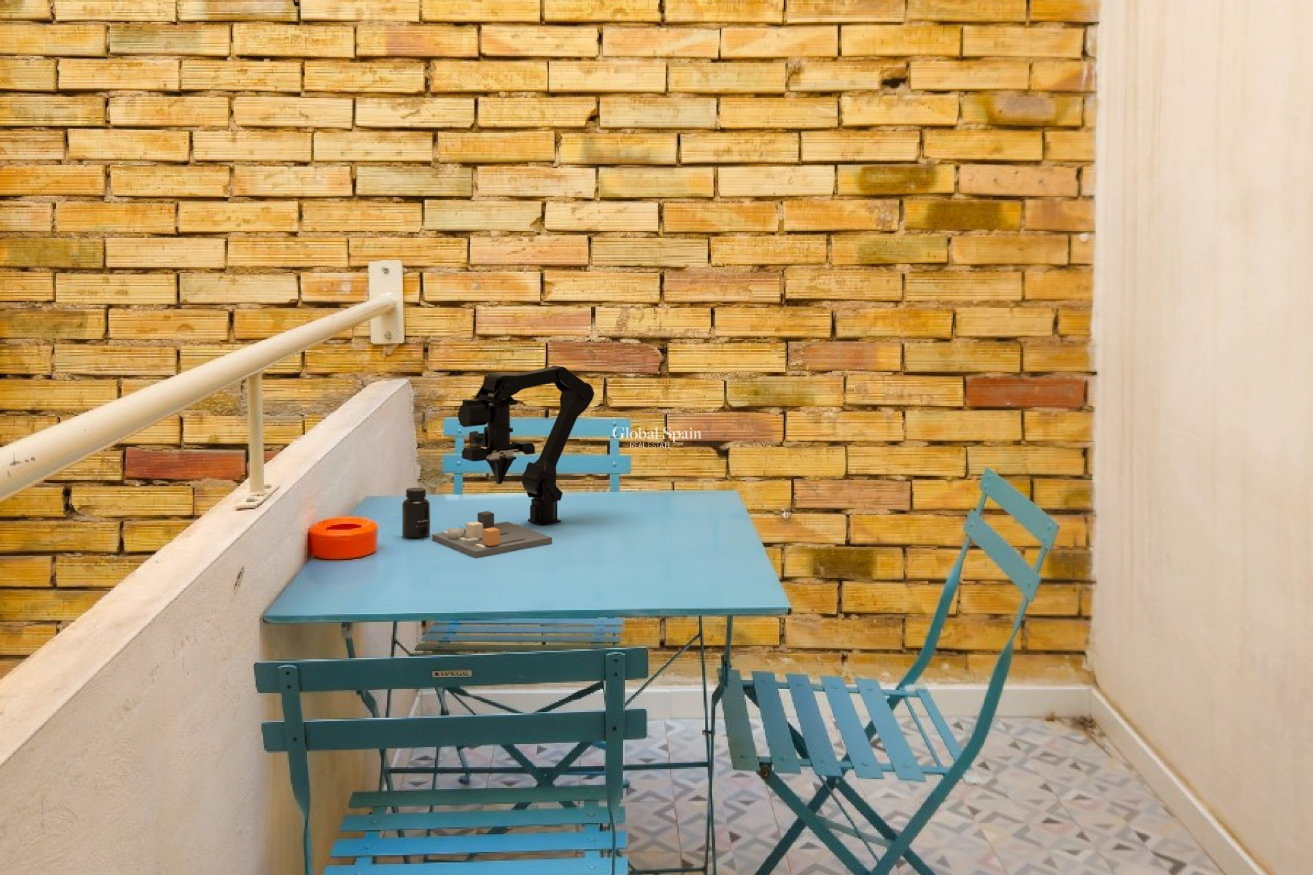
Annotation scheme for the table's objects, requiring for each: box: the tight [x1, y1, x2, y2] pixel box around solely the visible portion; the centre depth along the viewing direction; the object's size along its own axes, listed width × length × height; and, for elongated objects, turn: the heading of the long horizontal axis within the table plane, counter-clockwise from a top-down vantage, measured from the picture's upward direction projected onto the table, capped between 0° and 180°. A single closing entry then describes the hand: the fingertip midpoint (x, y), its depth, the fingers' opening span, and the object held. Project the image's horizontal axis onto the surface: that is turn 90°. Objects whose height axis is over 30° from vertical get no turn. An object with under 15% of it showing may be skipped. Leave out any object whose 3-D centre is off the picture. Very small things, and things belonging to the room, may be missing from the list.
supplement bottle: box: [401, 487, 431, 540], centre depth 307 cm, size 7×7×12 cm
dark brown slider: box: [477, 510, 495, 529], centre depth 311 cm, size 3×3×4 cm
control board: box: [431, 521, 553, 559], centre depth 303 cm, size 22×20×4 cm
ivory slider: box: [465, 520, 483, 539], centre depth 300 cm, size 3×3×4 cm
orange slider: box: [482, 528, 500, 546], centre depth 294 cm, size 3×3×4 cm
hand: (499, 483), depth 313 cm, fingers closed
